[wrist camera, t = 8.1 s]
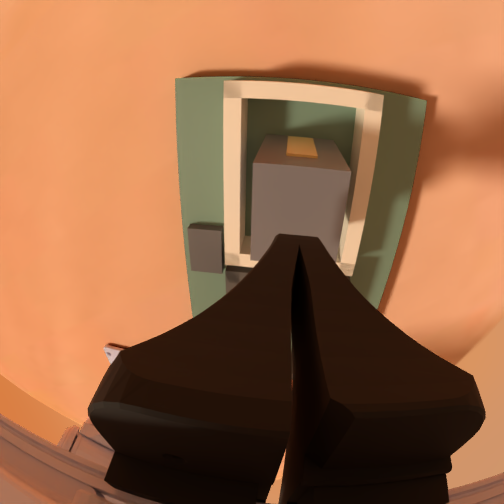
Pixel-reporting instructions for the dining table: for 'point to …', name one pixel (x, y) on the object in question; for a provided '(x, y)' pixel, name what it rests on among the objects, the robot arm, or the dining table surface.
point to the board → (302, 125)
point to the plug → (298, 192)
